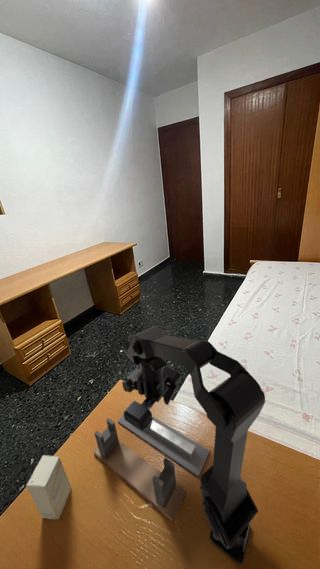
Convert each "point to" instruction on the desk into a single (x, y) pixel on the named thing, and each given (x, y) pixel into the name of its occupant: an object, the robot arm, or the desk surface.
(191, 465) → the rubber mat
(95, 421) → the desk surface
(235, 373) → the robot arm
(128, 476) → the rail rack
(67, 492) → the skincare box
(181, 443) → the steel rail
